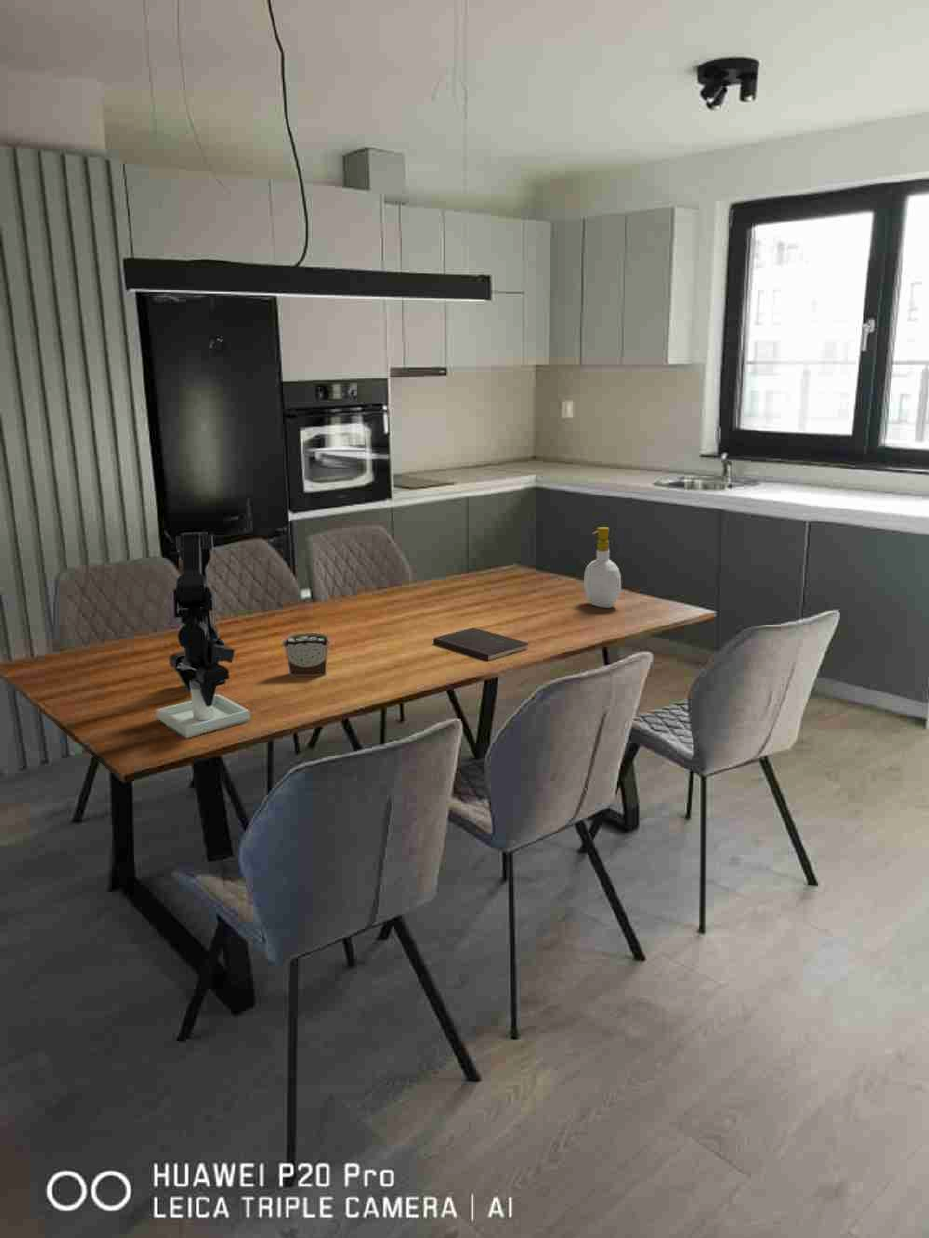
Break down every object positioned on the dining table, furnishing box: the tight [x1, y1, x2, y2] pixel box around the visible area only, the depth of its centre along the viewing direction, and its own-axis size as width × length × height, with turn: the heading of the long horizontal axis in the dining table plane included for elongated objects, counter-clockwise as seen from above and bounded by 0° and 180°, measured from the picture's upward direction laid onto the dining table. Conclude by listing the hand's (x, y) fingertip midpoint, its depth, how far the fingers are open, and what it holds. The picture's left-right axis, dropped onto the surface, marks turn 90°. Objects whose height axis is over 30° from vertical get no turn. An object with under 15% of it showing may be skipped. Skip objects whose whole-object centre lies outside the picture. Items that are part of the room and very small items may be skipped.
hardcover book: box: [432, 627, 530, 662], centre depth 276 cm, size 16×23×2 cm
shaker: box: [189, 678, 213, 721], centre depth 222 cm, size 5×5×9 cm
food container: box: [282, 632, 331, 677], centre depth 255 cm, size 12×6×10 cm, turn 92°
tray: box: [156, 693, 251, 739], centre depth 223 cm, size 16×16×2 cm
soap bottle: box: [583, 526, 622, 609], centre depth 314 cm, size 14×9×26 cm, turn 40°
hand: (202, 701), depth 222 cm, fingers open, 7 cm apart
